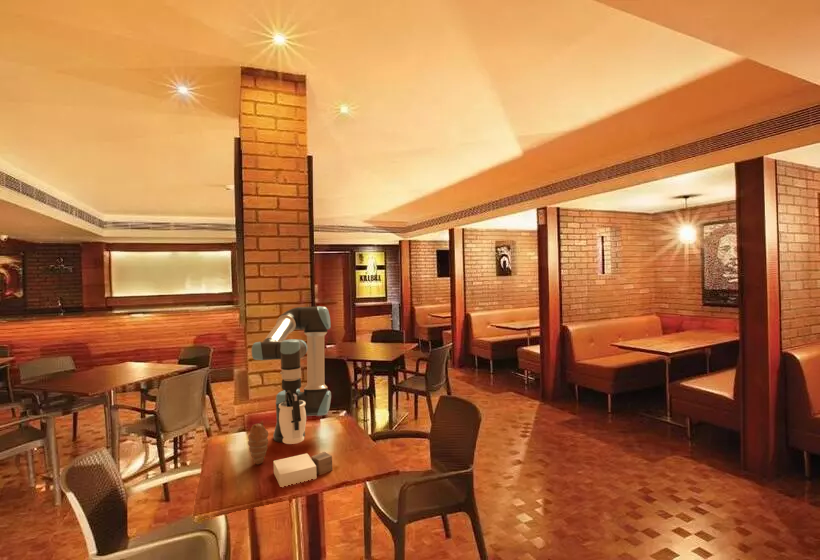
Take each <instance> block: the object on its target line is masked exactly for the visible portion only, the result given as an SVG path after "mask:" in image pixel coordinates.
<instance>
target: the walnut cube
mask: <svg viewBox="0 0 820 560" xmlns="http://www.w3.org/2000/svg"><path fill="white" fill-rule="evenodd" d="M311 459H312V461H313V462H314V464H315V465H316V473H317V475H319V476H321V475H325V474H326V473H328V472H331V471H333V455H331V454H329V453H327V452H325V451H322V452H319V453H317V454H314V455H311Z"/></svg>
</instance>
